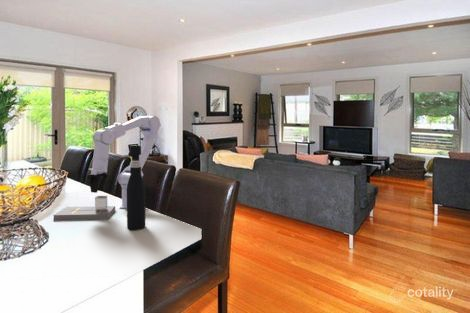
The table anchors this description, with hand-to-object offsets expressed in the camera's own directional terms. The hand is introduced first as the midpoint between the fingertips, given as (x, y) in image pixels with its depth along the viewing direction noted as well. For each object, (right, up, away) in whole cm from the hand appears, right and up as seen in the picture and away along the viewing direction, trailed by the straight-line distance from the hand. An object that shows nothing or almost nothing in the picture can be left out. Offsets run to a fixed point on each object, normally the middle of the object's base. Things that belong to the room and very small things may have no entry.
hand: (97, 191), depth 125 cm
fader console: (-4, -10, 0) cm, 11 cm away
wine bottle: (+21, -12, -13) cm, 27 cm away
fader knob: (+2, -7, +1) cm, 8 cm away
